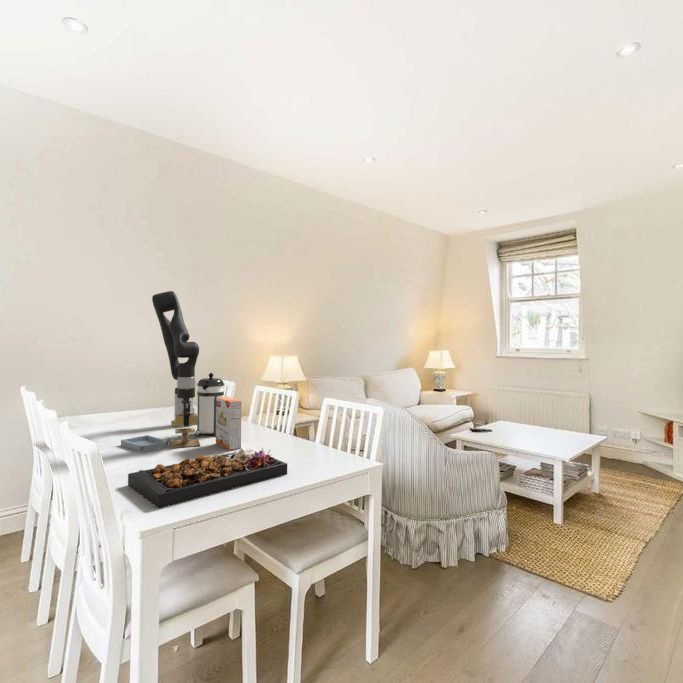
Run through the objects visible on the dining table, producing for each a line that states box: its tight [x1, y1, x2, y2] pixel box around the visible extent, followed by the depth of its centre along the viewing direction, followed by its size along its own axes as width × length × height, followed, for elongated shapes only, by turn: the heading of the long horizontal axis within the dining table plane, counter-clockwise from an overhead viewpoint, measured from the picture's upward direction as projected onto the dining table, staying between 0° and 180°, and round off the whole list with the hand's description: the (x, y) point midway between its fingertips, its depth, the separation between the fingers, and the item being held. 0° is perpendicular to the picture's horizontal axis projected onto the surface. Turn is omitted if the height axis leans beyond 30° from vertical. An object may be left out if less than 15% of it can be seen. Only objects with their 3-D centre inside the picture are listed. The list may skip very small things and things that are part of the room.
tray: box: [120, 434, 169, 453], centre depth 184 cm, size 17×12×2 cm
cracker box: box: [215, 396, 242, 451], centre depth 186 cm, size 14×6×21 cm, turn 39°
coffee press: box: [194, 372, 225, 438], centre depth 210 cm, size 17×16×30 cm
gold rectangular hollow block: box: [170, 412, 197, 427], centre depth 188 cm, size 10×6×4 cm, turn 114°
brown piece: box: [169, 427, 201, 450], centre depth 188 cm, size 12×12×6 cm
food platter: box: [127, 446, 288, 509], centre depth 143 cm, size 45×25×10 cm, turn 135°
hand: (185, 424), depth 189 cm, fingers closed on gold rectangular hollow block, 6 cm apart
